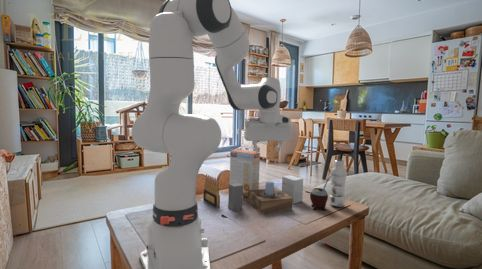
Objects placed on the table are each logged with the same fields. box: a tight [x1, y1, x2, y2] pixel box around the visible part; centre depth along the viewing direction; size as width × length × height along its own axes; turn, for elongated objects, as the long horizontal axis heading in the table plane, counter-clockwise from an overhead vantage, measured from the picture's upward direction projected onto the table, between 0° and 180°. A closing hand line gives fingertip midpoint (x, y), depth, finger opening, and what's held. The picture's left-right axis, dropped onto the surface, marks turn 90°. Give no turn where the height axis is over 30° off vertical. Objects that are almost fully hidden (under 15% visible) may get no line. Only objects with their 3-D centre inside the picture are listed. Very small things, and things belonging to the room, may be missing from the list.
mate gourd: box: [309, 174, 334, 211], centre depth 110 cm, size 8×8×15 cm
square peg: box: [227, 183, 244, 212], centre depth 108 cm, size 4×4×10 cm
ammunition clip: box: [202, 173, 221, 209], centre depth 112 cm, size 11×2×12 cm, turn 38°
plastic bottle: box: [328, 159, 348, 208], centre depth 113 cm, size 6×7×20 cm
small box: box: [281, 174, 304, 204], centre depth 119 cm, size 8×6×10 cm
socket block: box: [247, 187, 293, 214], centre depth 112 cm, size 14×14×5 cm
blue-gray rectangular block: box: [264, 180, 275, 196], centre depth 112 cm, size 4×4×10 cm
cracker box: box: [229, 148, 261, 198], centre depth 125 cm, size 14×6×21 cm, turn 49°
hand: (267, 151), depth 109 cm, fingers open, 8 cm apart
